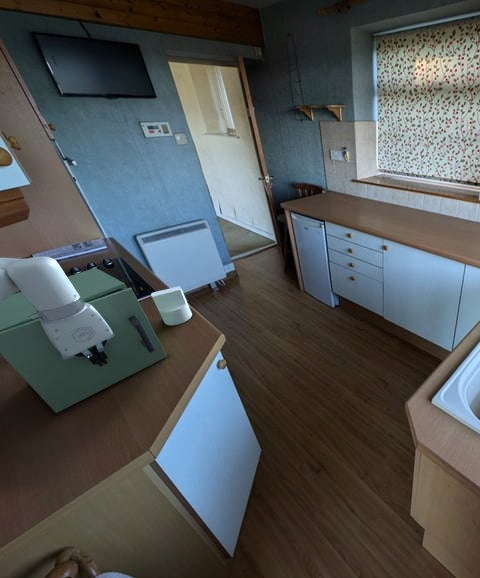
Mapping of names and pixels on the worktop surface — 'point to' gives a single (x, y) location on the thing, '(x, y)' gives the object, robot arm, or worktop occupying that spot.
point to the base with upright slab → (172, 305)
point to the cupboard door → (79, 370)
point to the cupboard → (85, 283)
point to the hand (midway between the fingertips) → (101, 362)
